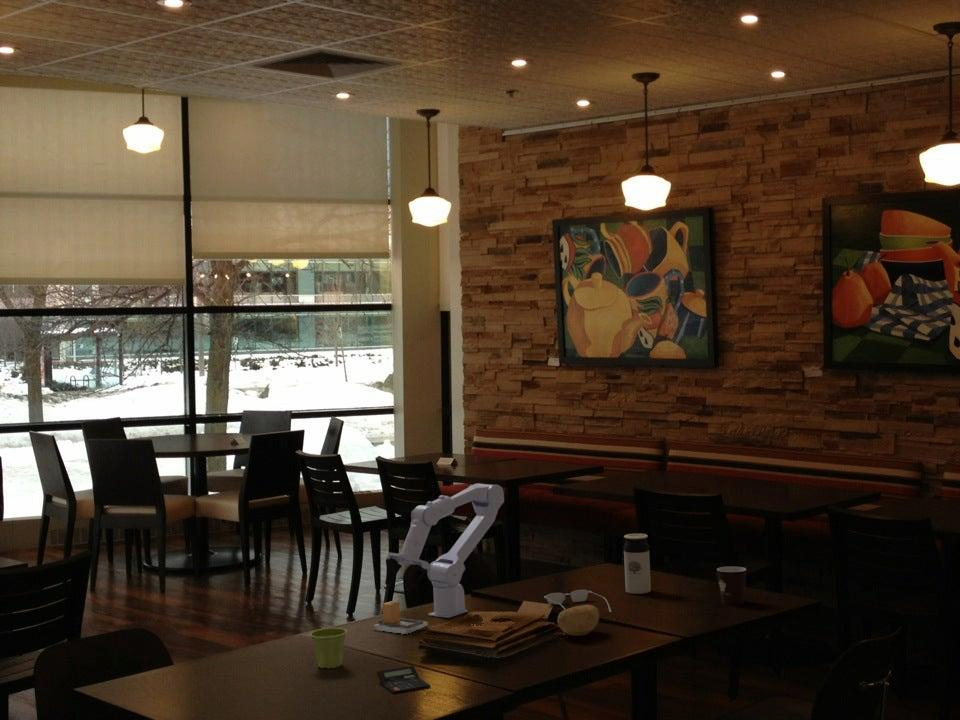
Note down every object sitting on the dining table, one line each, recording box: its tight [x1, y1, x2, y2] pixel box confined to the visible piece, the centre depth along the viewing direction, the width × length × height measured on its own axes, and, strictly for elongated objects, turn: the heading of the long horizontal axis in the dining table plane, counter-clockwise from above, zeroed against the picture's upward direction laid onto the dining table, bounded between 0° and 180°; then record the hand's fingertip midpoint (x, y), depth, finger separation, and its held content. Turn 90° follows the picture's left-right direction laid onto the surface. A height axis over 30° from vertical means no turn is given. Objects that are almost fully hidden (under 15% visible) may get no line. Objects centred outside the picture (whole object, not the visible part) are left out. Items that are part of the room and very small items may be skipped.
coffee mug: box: [715, 566, 747, 606], centre depth 356 cm, size 12×9×10 cm
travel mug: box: [623, 533, 652, 595], centre depth 375 cm, size 8×8×18 cm
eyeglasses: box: [543, 589, 612, 613], centre depth 355 cm, size 15×18×4 cm
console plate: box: [373, 617, 429, 635], centre depth 339 cm, size 10×12×2 cm
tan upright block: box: [381, 600, 401, 623], centre depth 341 cm, size 4×3×6 cm
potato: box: [557, 604, 600, 637], centre depth 323 cm, size 10×14×8 cm
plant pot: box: [309, 627, 348, 670], centre depth 302 cm, size 9×9×9 cm
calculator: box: [376, 665, 431, 695], centre depth 283 cm, size 9×12×3 cm
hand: (397, 587), depth 343 cm, fingers open, 7 cm apart
